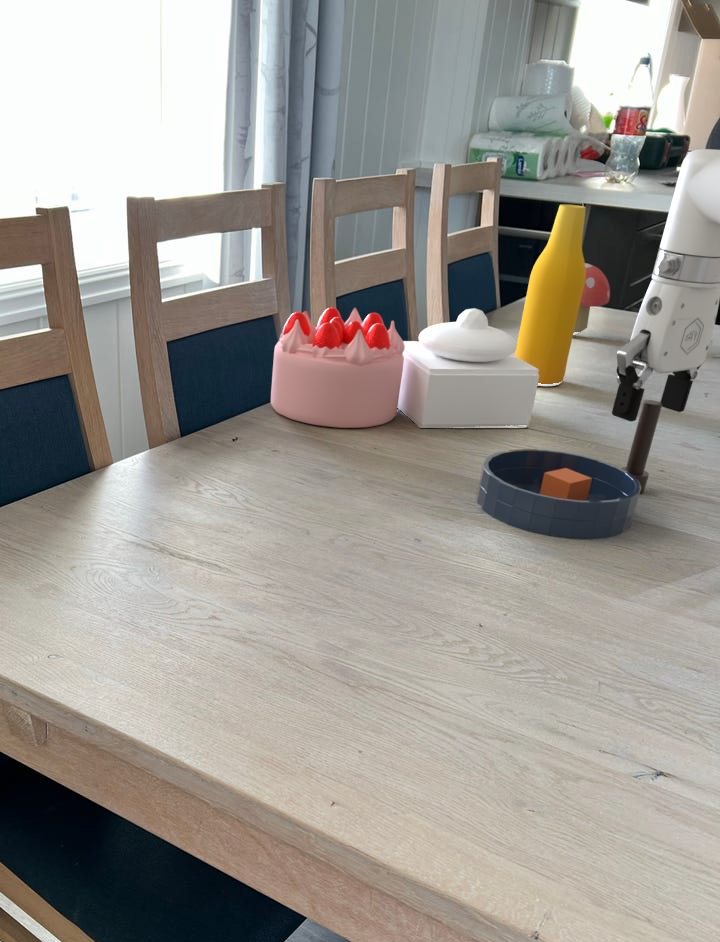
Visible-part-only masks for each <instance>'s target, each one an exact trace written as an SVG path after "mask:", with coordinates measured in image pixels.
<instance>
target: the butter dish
mask: <svg viewBox="0 0 720 942" xmlns="http://www.w3.org/2000/svg"><path fill="white" fill-rule="evenodd" d="M402 341H403V343H404V346H405V349H404V352H403V356H404V364H403V371H402V379H401V386H400V393H399V400H398V407H397V408H398V409H399V410H401V411H402V412H403V413H404V414H405V415H406V416H408V417H409V418H410V419H411V420H412V421H414V422H415V423H416V424H417V425H418V426H420V427H421V428H450V427H451V428H453V427H475V426H476V427H477V426H479V427H480V426H506V425H507V426H510V425H514V426H515V425H517V426H518V425H527V426H528V427H529V425H530V423H531V418H532V413H533V409H534V404H535V400H536V395H537V389H538V387H537V385H538V381H539V376H540V375H538V372H539V369H537V368H535V367H534V366H532V365H530V364H528V363H526V362H525V361H523V360H521V359H519V358H517V357H516V356H515V351H516V348H517V342H516V340H515V339H514V338H513V336H511V335H510V334H509V333H507V332H505V331H503V330H501V329H499V328H496V327H493V326H490V325H489V321H488V317H487V316H486V314H485V313H484V311H483V310H481V309H479V308H475V307H473V308H467V309H465V310H464V311H462V312H461V313H460V314H459V315H458V316H457V319H456V321H451V322H450V321H449V322H442V323H441V322H440V323H436V324H433V325H429V326H428V327H426V328H424V329H423V330H421V331H420V333H419V335H418V340H402ZM398 409H397V410H398ZM399 410H398V411H399ZM402 412H401V413H402ZM403 413H402V414H403ZM404 414H403V415H404ZM405 415H404V416H405ZM406 416H405V417H406ZM409 418H408V419H409ZM410 419H409V420H410ZM411 420H410V421H411ZM412 421H411V422H412ZM416 424H415V425H416ZM417 425H416V426H417ZM418 426H417V427H418Z"/></svg>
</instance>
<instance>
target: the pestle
mask: <svg viewBox="0 0 720 942" xmlns="http://www.w3.org/2000/svg"><path fill="white" fill-rule="evenodd" d="M662 408H663V407H662V403H661V401H659V400H654V399H644V400H643V403H642V406H641V410H640V414H639V418H638V421H637V424H636V429H635V433H634V436H633V439H632V443H631V446H630V447H631V448H630V451H629V456H628V459H627V462H626V466H623V467H620V468H621V469H623V470H625V471H627V472H628V473H630V474H631V475H632V476H634V477H635V478H636V479H637V480H638V481H639V483H640V485H641V490H640V494H639V496H640V495H643V494H644V493H645V490H646V487H647V483H648V480H649V476H650V474H649V471H646V470H645V469H646V466H647V462H648V458H649V454H650V451H651V447H652V444H653V440H654V436H655V432H656V429H657V425H658V422H659V419H660V415H661V411H662Z"/></svg>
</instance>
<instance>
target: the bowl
mask: <svg viewBox="0 0 720 942" xmlns="http://www.w3.org/2000/svg"><path fill="white" fill-rule="evenodd" d="M564 468H567V469H570V470H572V471H575V472H578V473H580V474H583V475H585V476H588V477H590V478H592V481H591V485H590V489H589V493H588V497H587V501H579V500H571V499H562V498H556V497H551V496H546V495H542V494H540V491H541V486H542V482H543V477H544V473H545V472H550V471H554V470H559V469H564ZM621 468H622V467H619V466H617V465H614V464H612V463H610V462H607V461H604V460H601V459H598V458H594V457H590V456H586V455H583V454H579V453H573V452H567V451H560V450H552V449H539V448H538V449H537V448H518V449H508V450H503V451H498V452H495V453H493V454H491V455H489V456H487V457H486V458H485V459H484V461H483V462H482V467H481V472H480V476H479V483H478V488H477V493H476V501H477V504H478V506H479V507H480V509H481V510H483V512H485V513H486V514H487V515H489V516H490V517H492V518H493V519H494V520H495V519H496V520H497V521H499V522H501V523H504V524H506V525H508V526H511V527H513V528H516V529H519V530H521V531H526V532H529V533H534V534H537V535H543V536H547V537H554V538H560V539H568V540H569V539H570V540H601V539H606V538H607V539H608V538H613V537H616V536H619V535H622V534H624V533H625V532H626V531H628V530H629V529H630V528H631V526H632V522H633V519H634V516H635V511H636V507H637V504H638V501H639V497H640V495H641V494H640V490H641V485H640V483H639V481H638V480H637V479H636V478H635V477H634V476H632V475H631V474H630V473H628V472H627V471H625V470H623V469H621ZM639 494H640V495H639Z"/></svg>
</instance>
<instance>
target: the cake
mask: <svg viewBox="0 0 720 942" xmlns="http://www.w3.org/2000/svg"><path fill="white" fill-rule="evenodd" d="M403 341H404V340H403V339H402V337H401V336H400V335H399V333H398V331H397V329H396V326H395V321H394V320H391V321H390V326H389V328H388V329H387V327H386V326H385V324H384V321H383V318H382V316H381V314H379V313H378V312H370V313H369V314H368V315H367V316H366V317H365V318H364V320H362V318H361V316H360V314H359V311H358V309H357V308H356V307H353V309H352V311H351V313H350V314H349V317H348V318H347V320H346V321H344V320H343V319H342V315H341V313H340V311H339V310H338V309H337V308H336V307H334V306H330V307H328V308H327V307H326V309H325V310H324V311H323V313H322V314H321V315H320V317H319V319H318V321H317V325H316V326H314V324H313V323H312V321H311V319H310V316H309V313H308V311H307V310H305V311H303V312H302V311H295V312H293V313H292V314H290V315H289V317H288V319H287V321H286V322H285V324H284V326H283V329H282V332H281V333H280V335H279V338H278V341H277V342H276V344H275V346H274V352H273V364H272V376H271V389H270V404H271V407H272V408H273V409H274V411H275V412H276V413H278V414H279V415H282V416H283V417H286V418H288V419H291V420H294V421H296V422H301V423H305V424H309V425H314V426H319V427H320V426H321V427H331V428H339V429H341V428H343V429H347V428H349V429H351V428H352V429H355V428H357V429H358V428H369V427H375V426H381V425H384V424H387V423H389V422H391V421H392V420H393V419H394V418H395V417H396V415H397V411H398V409H397V407H398V400H399V393H400V386H401V379H402V371H403V364H404V356H403V352H404V349H405V346H404V343H403Z"/></svg>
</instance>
